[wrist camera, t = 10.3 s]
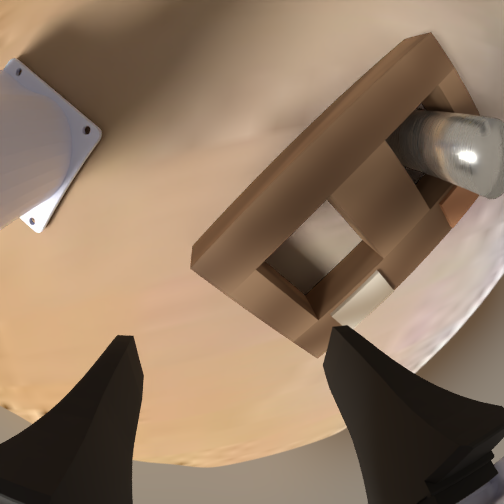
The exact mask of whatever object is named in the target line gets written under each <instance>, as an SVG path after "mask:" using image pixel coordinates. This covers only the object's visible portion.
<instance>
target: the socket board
mask: <svg viewBox="0 0 504 504" xmlns="http://www.w3.org/2000/svg"><path fill="white" fill-rule="evenodd" d="M421 103H422V104H423V106H424V107H425V109H426V111H440V112H451V113H460V114H469V115H477V116H480V114H479V112H478V110H477V108H476V106H475V104H474V102H473V100H472V98H471V96H470V94H469V93H468V91H467V89H466V87H465V85H464V83H463V82H462V80H461V78H460V76H459V75H458V73H457V71H456V70H455V68H454V66H453V65H452V63H451V61H450V60H449V58H448V57H447V55H446V53H445V52H444V50H443V49H442V47H441V46H440V44H439V43H438V41H437V40H436V39H435V37H434V36H433V34H432V33H427V34H423V35H419V36H415V37H411V38H408V39H404V40H403V41H402V42H401V43H400V44H398V45H397V46H396V47H395V48H394V49H393V50H391V51H390V52H389V53H388V54H387V55H386V56H384V57H383V58H382V59H381V60H380V61H379V62H378V63H377V64H375V65H374V66H373V67H372V68H371V69H370V70H369V71H368V72H366V73H365V74H364V75H363V76H362V77H361V78H360V79H359V80H358V81H356V82H355V83H354V84H353V85H352V86H351V87H350V88H349V89H348V90H347V91H346V92H344V93H343V94H342V95H341V96H340V97H339V98H338V99H337V100H336V101H335V102H334V103H333V104H332V105H331V106H329V107H328V108H327V109H326V110H325V111H324V112H323V113H322V114H321V115H320V116H319V117H318V118H317V119H316V120H315V121H314V122H313V123H312V124H311V125H310V126H308V127H307V128H306V129H305V130H304V131H303V132H302V133H301V134H300V135H299V136H298V137H297V138H296V139H295V140H294V141H293V142H292V143H291V144H290V145H289V146H288V147H287V148H286V149H285V150H284V151H283V152H282V153H281V154H280V155H279V156H278V157H277V158H276V159H275V160H274V161H273V162H272V163H271V164H270V165H269V166H268V167H267V168H266V169H265V170H264V171H263V172H262V173H261V174H260V175H259V176H258V177H257V178H256V179H255V180H254V181H253V182H252V183H251V184H250V185H249V186H248V187H247V189H246V190H245V191H244V192H243V193H242V194H241V195H240V196H239V197H238V198H237V199H236V200H235V201H234V202H233V203H232V204H231V205H230V206H229V207H228V208H227V209H226V211H225V212H224V213H223V214H222V215H221V216H220V217H219V218H218V219H217V220H216V221H215V222H214V223H213V224H212V225H211V227H210V228H209V229H208V230H207V231H206V232H205V233H204V234H203V235H202V236H201V237H200V238H199V240H198V241H197V242H196V243H195V244H194V245H193V246H192V256H191V267H190V269H192V270H193V271H194V272H196V273H197V274H198V275H200V276H201V277H202V278H204V279H205V280H206V281H208V282H209V283H211V284H212V285H213V286H215V287H216V288H217V289H219V290H220V291H221V292H223V293H224V294H225V295H227V296H228V297H230V298H231V299H232V300H234V301H235V302H237V303H238V304H239V305H241V306H242V307H243V308H245V309H246V310H248V311H249V312H250V313H252V314H253V315H255V316H256V317H258V318H259V319H260V320H262V321H263V322H265V323H266V324H268V325H269V326H270V327H272V328H273V329H275V330H276V331H278V332H279V333H280V334H282V335H283V336H285V337H286V338H288V339H289V340H291V341H292V342H294V343H295V344H297V345H298V346H300V347H301V348H303V349H304V350H306V351H307V352H309V353H310V354H312V355H313V356H315V357H316V358H319V357H320V356H321V355H322V354H324V353H325V352H326V351H327V348H328V343H329V339H330V335H331V331H332V327H335V326H343V325H348V326H349V327H351V328H352V329H354V328H355V327H356V326H357V325H359V324H360V323H361V322H362V321H363V320H364V319H365V318H366V317H367V316H369V315H370V314H371V313H372V312H373V311H374V310H375V309H376V308H377V307H378V306H379V305H380V304H381V303H382V302H384V301H385V300H386V299H387V298H388V297H389V296H390V295H391V294H392V293H393V292H394V290H395V289H396V288H397V287H398V286H399V285H400V284H401V283H402V282H403V281H404V280H405V279H406V278H407V277H408V276H409V275H410V274H411V273H412V272H413V271H414V270H415V269H416V268H417V267H418V265H419V264H420V263H421V262H422V261H423V260H424V259H425V258H426V257H427V256H428V255H429V254H430V253H431V251H432V250H433V249H434V248H435V247H436V246H437V245H438V244H439V243H440V241H441V240H442V239H443V238H444V237H445V236H446V235H447V233H448V232H449V231H450V230H451V229H452V228H453V227H454V226H455V225H456V224H457V223H458V221H459V220H460V219H461V218H462V217H463V215H464V214H465V213H466V212H467V210H468V209H469V208H470V207H471V205H472V204H473V203H474V202H475V200H476V199H477V198H478V196H479V194H476V193H474V192H472V191H469V190H467V189H465V188H462V187H460V186H457V185H455V184H452V183H450V182H447V181H444V180H442V179H439V178H436V177H434V176H431V175H428V174H425V175H424V176H423V177H422V178H421V179H420V180H419V181H418V182H417V184H416V185H415V184H414V182H413V181H412V179H411V178H410V176H409V175H408V173H407V171H406V170H405V168H404V167H403V165H402V164H401V162H400V161H399V159H398V158H397V157H396V155H395V154H394V152H393V151H392V149H391V148H390V146H389V145H388V144H387V142H386V141H385V140H386V139H387V138H388V137H389V136H390V135H391V134H392V133H393V132H394V131H395V129H396V128H397V127H398V126H399V125H400V124H401V123H402V122H403V121H404V120H405V119H406V118H407V117H408V116H409V115H410V114H411V113H412V112H413V111H414V110H415V109H416V108H417V107H418V106H419V105H420V104H421ZM326 200H328V201H329V202H330V203H331V204H332V206H333V207H334V208H335V209H336V210H337V211H338V212H339V213H340V215H341V216H342V217H343V218H344V219H345V220H346V221H347V222H348V224H349V225H350V226H351V227H352V228H353V229H354V231H355V232H356V233H357V234H358V235H359V236H360V238H361V239H362V241H361V242H360V243H359V244H358V245H357V246H356V247H355V248H354V249H353V250H352V251H351V252H350V253H349V254H348V255H347V256H346V257H345V258H344V259H343V260H342V261H341V262H340V263H339V264H338V265H337V266H336V267H335V268H334V269H333V270H332V271H331V272H330V273H329V274H327V275H326V276H325V277H324V278H323V279H322V280H321V281H320V282H319V283H318V284H317V285H316V286H315V287H314V288H313V289H312V290H310V291H309V292H308V293H307V294H306V295H304V294H303V293H302V292H301V291H299V290H298V289H297V288H296V287H295V286H293V285H292V284H291V283H290V282H289V281H288V280H286V279H285V278H284V277H283V276H282V275H280V274H279V273H278V272H277V271H276V270H275V269H273V268H272V267H271V266H270V265H269V264H267V263H266V262H265V260H266V259H267V258H268V257H269V256H270V255H271V254H272V253H273V252H274V251H275V250H276V249H277V248H278V247H279V246H280V245H281V244H282V243H283V242H284V241H285V240H286V239H287V238H288V237H289V236H290V235H291V234H292V233H293V232H294V231H295V230H296V229H297V228H298V227H299V226H300V225H301V224H302V223H303V222H305V221H306V220H307V219H308V218H309V217H310V216H311V215H312V214H313V213H314V212H315V211H316V210H317V209H318V208H319V207H320V206H321V205H322V204H323V203H324V202H325V201H326Z"/></svg>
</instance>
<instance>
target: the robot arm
mask: <svg viewBox="0 0 504 504" xmlns="http://www.w3.org/2000/svg"><path fill="white" fill-rule="evenodd" d="M21 69H22V72H21V74H20V75H19V72H20V70H21ZM87 126H89V127H90V133H89V134H86V133H85V128H86V127H87ZM101 137H102V131H101V129H100V128H99V127H98V126H96V125H95V124H94V123H93V122H92V121H90V120H89V119H88V118H87V117H86V116H85V115H83V114H82V113H81V112H80V111H79V110H77V109H76V108H75V107H74V106H73V105H72V104H70V103H69V102H68V101H67V100H66V99H64V98H63V97H62V96H61V95H60V94H58V93H57V92H56V91H55V90H54V89H53V88H51V87H50V86H49V85H48V84H47V83H45V82H44V81H43V80H42V79H41V78H40V77H38V76H37V75H36V74H35V73H34V72H32V71H31V70H30V69H29V68H28V67H27V66H25V65H24V64H23V63H22V62H21V61H19V60H18V59H15V58H13V59H11V60H10V61H9V62H8V63H7V65H6V66H5V68H4V70H0V230H2V229H3V228H4V227H6V226H7V225H9V224H10V223H12V222H13V221H15V220H16V219H18V218H19V217H20V218H21V219H22V220H23V221H24V222H25V223H26V224H27V225H28V226H29V227H31V228H32V229H33V230H34V231H35V232H37V233H40V232H42V231H43V230H44V229H45V227H46V225H47V224H48V222H49V220H50V218H51V216H52V214H53V213H54V211H55V209H56V207H57V206H58V204H59V202H60V200H61V199H62V197H63V195H64V194H65V192H66V190H67V189H68V187H69V185H70V184H71V182H72V181H73V179H74V177H75V176H76V174H77V173H78V171H79V170H80V168H81V167H82V165H83V164H84V162H85V161H86V159H87V158H88V156H89V155H90V153H91V152H92V151H93V149H94V148H95V146H96V145H97V144H98V142H99V141H100V139H101ZM32 218H34V219H35V223H34V222H33V221H32ZM323 368H324V371H325V375H326V378H327V382H328V385H329V388H330V390H331V393H332V395H333V397H334V399H335V402H336V404H337V406H338V408H339V410H340V413H341V415H342V417H343V419H344V421H345V424H346V426H347V428H348V430H349V432H350V435H351V438H352V440H353V443H354V447H355V450H356V453H357V456H358V459H359V463H360V467H361V471H362V475H363V479H364V484H365V489H366V493H367V499H368V504H504V457H503V458H501V459H500V460H499V461H498V462H496V463H495V464H494V465H493V463H492V461H491V460H492V459H493V458H494V454H493V453H492V451H491V450H492V449H493V448H494V447H495V446H496V445H497V444H498V443H499V442H500V441H501V440H502V439H503V437H504V408H503V407H502V406H498V405H493V404H488V403H483V402H479V401H476V400H472V399H469V398H466V397H463V396H460V395H457V394H454V393H452V392H450V391H448V390H445V389H443V388H441V387H438V386H436V385H434V384H432V383H430V382H428V381H426V380H425V379H423V378H421V377H419V376H417V375H416V374H414V373H412V372H411V371H409V370H408V369H406V368H405V367H403V366H402V365H400V364H399V363H397V362H396V361H394V360H393V359H391V358H390V357H389V356H387V355H386V354H385V353H383V352H382V351H381V350H379V349H378V348H377V347H375V346H374V345H373V344H371V343H370V342H369V341H368V340H366V339H365V338H364V337H362V336H361V335H360V334H359V333H357V332H356V331H355V330H353V329H352V328H351V327H349V326H348V325H343V326H335V327H332V331H331V335H330V339H329V343H328V348H327V352H326V355H325V359H324V363H323ZM143 378H144V375H143V371H142V367H141V364H140V360H139V356H138V352H137V348H136V344H135V340H134V336H123V335H117V336H116V337H115V339H114V340H113V341H112V342H111V344H110V345H109V346H108V347H107V349H106V350H105V351H104V352H103V354H102V355H101V356H100V357H99V359H98V360H97V361H96V362H95V364H94V365H93V366H92V367H91V368H90V370H89V371H88V372H87V373H86V374H85V376H84V377H83V378H82V379H81V380H80V381H79V382H78V383H77V384H76V386H75V387H74V388H73V389H72V390H71V391H70V392H69V393H68V394H67V395H66V396H65V397H64V398H63V399H62V400H61V401H60V402H59V403H58V404H57V405H56V406H55V407H53V408H52V409H51V410H50V411H49V412H48V413H46V414H45V415H44V416H42V417H41V418H40V419H39V420H37V421H36V422H35V423H33V424H32V425H31V426H29V427H28V428H26V429H25V430H24V431H22V432H20V433H19V434H17V435H16V436H14V437H12V438H11V439H9V440H7V441H5V442H3V443H1V444H0V504H133V501H132V457H133V448H134V442H135V436H136V430H137V424H138V419H139V413H140V408H141V402H142V393H143Z"/></svg>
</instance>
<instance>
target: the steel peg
mask: <svg viewBox="0 0 504 504" xmlns="http://www.w3.org/2000/svg"><path fill="white" fill-rule="evenodd" d="M385 141H386V142H387V144H388V145H389V146H390V148H391V149H392V151H393V152H394V154H395V155H396V157H397V158H398V159H399V161H400V162H401V164H402V165H403V166H405V167H408V168H411V169H414V170H417V171H420V172H423V173H426V174H428V175H431V176H434V177H436V178H439V179H442V180H444V181H447V182H450V183H452V184H455V185H457V186H460V187H462V188H465V189H467V190H469V191H472V192H474V193H476V194H479V195H481V196H483V197H486V198H488V199H495V198H498V197H499V196H501V195H502V194H503V193H504V122H502V121H501V120H499V119H496V118H491V117H484V116H477V115H469V114H460V113H451V112H440V111H426V110H414V111H413V112H412V113H411V114H410V115H409V116H408V117H407V118H406V119H405V120H404V121H403V122H402V123H401V124H400V125H399V126H398V127H397V128H396V129H395V131H394V132H393V133H392V134H391V135H390V136H389V137H388V138H387V139H386V140H385Z"/></svg>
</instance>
